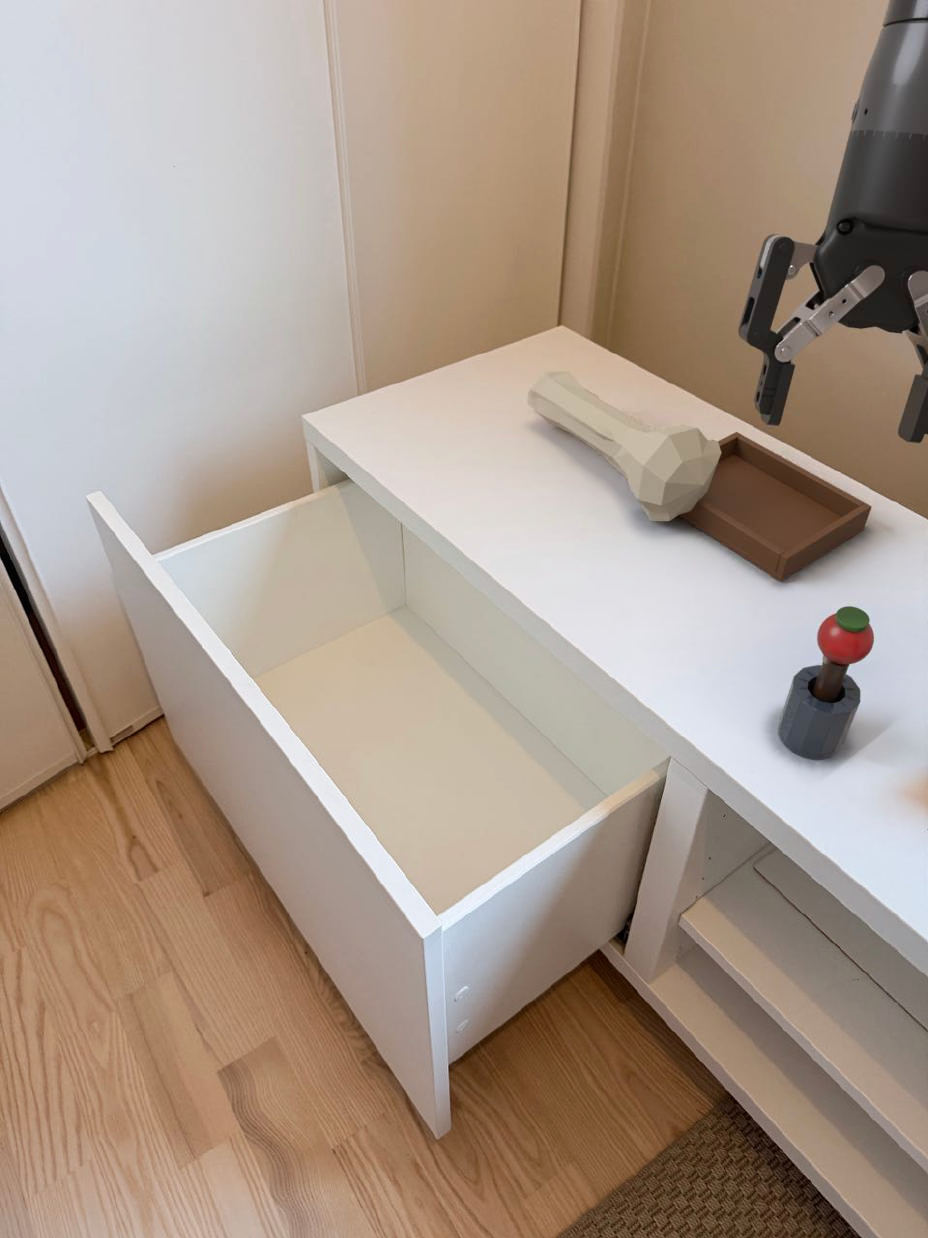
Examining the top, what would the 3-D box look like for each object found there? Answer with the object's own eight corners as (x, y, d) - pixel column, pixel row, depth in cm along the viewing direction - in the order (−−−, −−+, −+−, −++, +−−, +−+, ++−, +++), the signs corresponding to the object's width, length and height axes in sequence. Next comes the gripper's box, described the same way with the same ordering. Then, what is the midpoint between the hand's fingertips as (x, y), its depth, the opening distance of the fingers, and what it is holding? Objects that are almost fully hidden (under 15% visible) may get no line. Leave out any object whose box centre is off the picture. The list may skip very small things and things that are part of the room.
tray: (864, 529, 84) (872, 506, 82) (780, 582, 79) (787, 558, 77) (731, 453, 93) (736, 431, 91) (649, 497, 88) (653, 474, 86)
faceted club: (650, 542, 81) (494, 424, 97) (718, 531, 85) (558, 419, 102) (681, 448, 76) (511, 340, 92) (752, 442, 81) (578, 340, 97)
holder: (853, 753, 66) (873, 706, 62) (795, 765, 65) (812, 719, 62) (822, 707, 69) (840, 660, 65) (767, 718, 68) (781, 671, 65)
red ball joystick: (845, 744, 66) (892, 630, 58) (800, 753, 65) (841, 640, 57) (821, 709, 68) (863, 594, 60) (778, 717, 68) (815, 603, 60)
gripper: (811, 112, 46) (735, 433, 53) (1097, 146, 46) (983, 462, 53) (774, 119, 53) (711, 403, 60) (1024, 149, 53) (931, 429, 60)
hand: (839, 431), depth 57 cm, fingers open, 8 cm apart
